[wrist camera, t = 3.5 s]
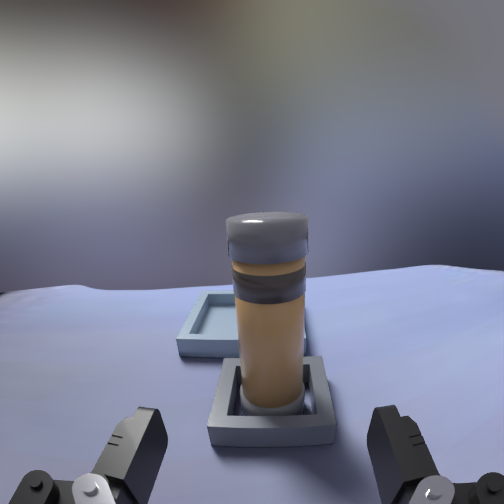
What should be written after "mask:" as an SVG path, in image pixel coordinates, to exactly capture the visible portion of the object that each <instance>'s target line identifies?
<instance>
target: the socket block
mask: <svg viewBox="0 0 504 504" xmlns="http://www.w3.org/2000/svg"><path fill="white" fill-rule="evenodd" d="M302 382H303V383H309V390H310V398H311V405H312V413H313V414H312V415H292V416H233V411H234V405H235V399H236V393H237V387H238V385H242V377H241V365H240V358H224V360H223V364H222V368H221V372H220V376H219V380H218V384H217V388H216V392H215V396H214V400H213V404H212V408H211V412H210V416H209V420H208V424H207V428H208V433H209V438H210V442H211V445H214V446H233V447H292V446H311V445H324V444H333V442H334V436H335V431H336V425H337V424H336V419H335V414H334V409H333V405H332V400H331V395H330V391H329V386H328V382H327V377H326V373H325V369H324V364H323V360H322V356H308V357H303V380H302Z"/></svg>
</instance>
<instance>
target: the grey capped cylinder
mask: <svg viewBox="0 0 504 504" xmlns="http://www.w3.org/2000/svg"><path fill="white" fill-rule="evenodd" d="M226 229H227V243H228V255H229V257H230V258H231V259H232V276H233V290H234V295H235V305H236V318H237V330H238V342H239V354H240V365H241V377H242V385H241V387H240V397H241V407H242V414H243V416H292V415H302V414H303V411H304V396H305V386H304V383H303V382H302V380H303V354H304V315H305V291H306V263H305V256H306V255H307V254H308V217H307V216H306V215H303V214H299V213H290V212H262V213H250V214H243V215H237V216H233V217H230V218H228V219H226Z"/></svg>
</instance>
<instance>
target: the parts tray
mask: <svg viewBox="0 0 504 504" xmlns="http://www.w3.org/2000/svg"><path fill="white" fill-rule="evenodd" d="M176 341H177V346H178V351H179V356H186V357H218V358H240V354H239V342H238V330H237V318H236V305H235V295H234V291H202V292H201V294H200V296H199V298H198V299H197V301H196V303H195V305H194V307H193V308H192V310H191V312H190V314H189V316H188V318H187V320H186V321H185V323H184V325H183V327H182V329H181V331H180V332H179V334H178V336H177V338H176ZM303 356H306V334H305V328H304V354H303Z"/></svg>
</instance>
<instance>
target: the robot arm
mask: <svg viewBox="0 0 504 504" xmlns="http://www.w3.org/2000/svg"><path fill="white" fill-rule="evenodd" d="M167 444H168V436H167V432H166V429H165V426H164V423H163V420H162V417H161V414H160V411H159V410H158V409H153V408H146V407H138V408H137V410H136V412H135V414H134V415H133V417H132V418H128V417H126V418H125V419H124V420H122V421H121V422H120V423H119V424H118V425H117V426H116V428H115V430H114V431H113V433H112V437H110V439H109V441H108V444H106V446H105V448H104V450H103V452H102V454H101V456H100V457H99V459H98V461H97V463H96V465H95V467H94V469H93V470H92V472H91V473H90V474H84V475H82V476H80V477H78V478H77V479H76V480H75V481H61V480H53V479H52V478H51V476H50V475H49V474H48V473H46V472H45V471H42V470H34V471H31V472H29V473H27V474H26V475H25V476H24V477H23V479H22V481H21V483H20V484H19V486H18V488H17V490H16V491H15V493H14V495H13V497H12V498H11V500H10V502H9V504H147V503H148V500H149V497H150V495H151V492H152V489H153V486H154V483H155V480H156V477H157V475H158V472H159V469H160V466H161V463H162V460H163V457H164V455H165V452H166V449H167ZM367 447H368V451H369V455H370V459H371V462H372V466H373V470H374V474H375V478H376V482H377V485H378V489H379V493H380V498H381V502H382V504H504V476H503V475H502V474H499V473H496V472H491V473H487V474H485V475H483V476H482V477H481V478H480V479H479V480H478V481H477V482H474V483H452V482H451V481H450V480H449V479H448V478H446V477H443V476H440V474H439V473H438V470H437V468H436V466H435V463H434V461H433V459H432V456H431V454H430V452H429V450H428V447H427V445H426V444H425V441H424V438H423V436H421V432H420V430H419V428H418V425H417V423H415V422H414V421H413V420H412V419H411V418H410V417H409V416H403V417H400V414H399V412H398V410H397V408H396V406H395V405H390V406H384V407H377V408H375V409H374V411H373V415H372V419H371V422H370V426H369V430H368V433H367Z"/></svg>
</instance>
